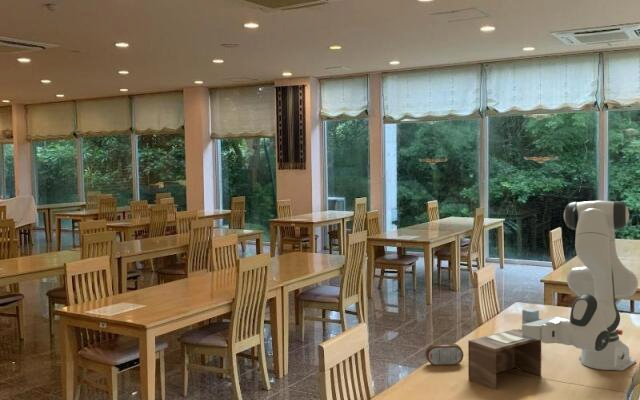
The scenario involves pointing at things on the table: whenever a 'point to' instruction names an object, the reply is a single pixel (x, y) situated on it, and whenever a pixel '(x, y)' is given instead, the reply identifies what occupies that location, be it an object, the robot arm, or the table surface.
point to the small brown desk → (502, 356)
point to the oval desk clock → (444, 354)
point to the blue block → (530, 317)
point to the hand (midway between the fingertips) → (528, 321)
